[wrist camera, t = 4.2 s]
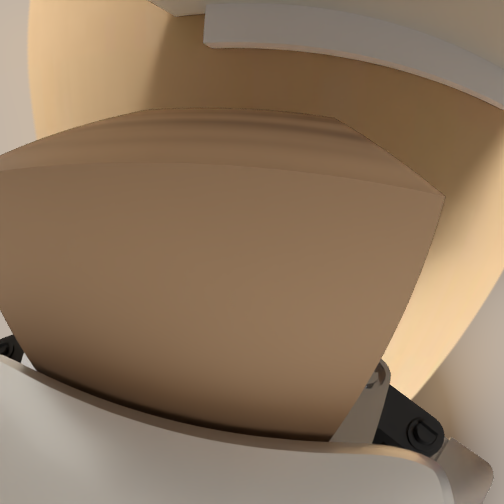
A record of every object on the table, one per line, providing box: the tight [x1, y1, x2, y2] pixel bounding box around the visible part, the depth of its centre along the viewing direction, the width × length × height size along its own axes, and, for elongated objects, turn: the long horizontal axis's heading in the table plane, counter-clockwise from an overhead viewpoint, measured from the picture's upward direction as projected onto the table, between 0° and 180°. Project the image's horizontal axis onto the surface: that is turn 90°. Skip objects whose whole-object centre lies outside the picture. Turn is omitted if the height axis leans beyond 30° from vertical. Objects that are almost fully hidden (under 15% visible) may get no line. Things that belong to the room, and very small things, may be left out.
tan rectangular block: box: [0, 108, 445, 442], centre depth 8 cm, size 9×6×9 cm, turn 177°
